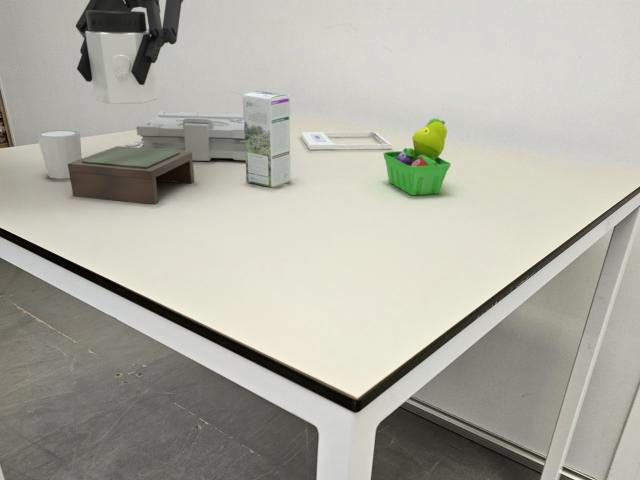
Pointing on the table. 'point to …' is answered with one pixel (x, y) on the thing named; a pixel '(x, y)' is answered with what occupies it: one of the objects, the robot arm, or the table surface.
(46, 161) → the white cup
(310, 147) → the photo frame
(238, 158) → the grey plastic tool case
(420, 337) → the table surface
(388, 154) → the fruit basket
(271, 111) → the syrup box
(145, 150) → the shelf
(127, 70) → the jar
